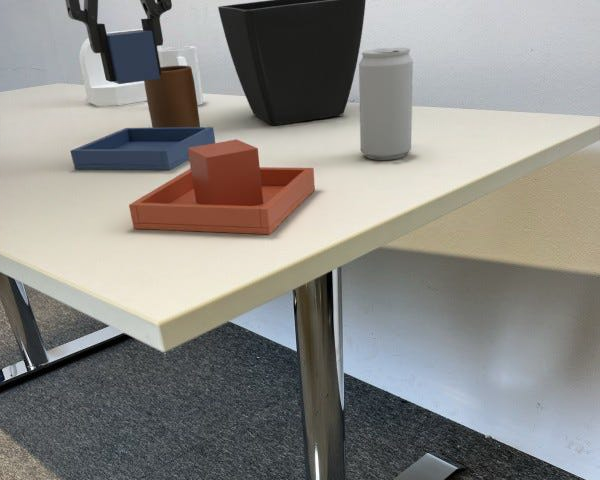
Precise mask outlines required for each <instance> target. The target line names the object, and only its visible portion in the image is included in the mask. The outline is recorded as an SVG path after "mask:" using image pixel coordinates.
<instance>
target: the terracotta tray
mask: <svg viewBox="0 0 600 480" xmlns="http://www.w3.org/2000/svg"><path fill="white" fill-rule="evenodd" d="M260 176H261V186H262V196H263V203H262V204H258V205H253V206H230V205H201V204H199V203H198V202H196V198H195V192H194V186H193V179H192V173H191V167H190V168H189V169H187V170H185V171H183V172H182V173H180V174H179V175H177V176H175V177H173V178H172V179H170V180H168V181H166V182H165V183H163V184H161V185H159V186H158V187H157V188H155V189H153V190H152V191H150V192H148V193H147V194H144V195H143V196H141V197H140V198H138V199H136V200H135V201H133V202H131V203H129V204H128V207H129V212H130V218H131V222H132V226H133V229H136V230H160V231H162V230H163V231H180V232H181V231H183V232H185V231H186V232H204V233H205V232H206V233H228V234H229V233H230V234H253V235H254V234H255V235H271V234H272V233H273V232H274V231H275V230H276V229H277V228H278V227H279V226H280V225H281V224H282V223H283V222H284V221H285V220H286V219H287V218H288V217H289V216H290V215H291V214H292V213H293V212H294V211H295V210H296V209H297V208H298V207H299V206H300V205H301V204H302V203H303V202H304V201H305V200H306V199H307V198H308V197H309V196H310V195H311V194H312V193H313V192H314V191H315V190H316V184H315V170H314V167H277V166H276V167H273V166H272V167H265V166H260Z"/></svg>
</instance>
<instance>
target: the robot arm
mask: <svg viewBox="0 0 600 480" xmlns="http://www.w3.org/2000/svg"><path fill="white" fill-rule="evenodd" d="M139 1H140V4H141V6H142V9H143V11H144V13H145V15H146V18H140V22H141V29H143V30H146V31H152V36H153V41H154V47H155V53H156V59H157V64H158V70H159V75H162V73H161V67H160V61H159V55H158V50H157V46H161V45H162V46H163V45H164V37H163V30H162V24H161V16H162V15H163V14H164V13H166V12H168V11H170V10H172V7H173V4H172V0H139ZM65 6H66V11H67V16H68V17H69V18H70V19H71V20H73V21H78V22H81V23H83V24H84V25H85V28H86V32H87V36H88V37H89V41H90V46H91V49H92V51H93V53H100V55H101V59H102V65H103V69H104V73H105V78H106V80H107V81H110V82H114V81H116V78H115V74H114V69H113V64H112V59H111V54H110V49H109V45H108V40H107V34H106V33H107V30H106V24H105V23H99V22H98V18H99V17H98V15H99V13H98V12H99V0H83V10H82V8H81V4H80V0H65ZM88 37H87V38H88Z"/></svg>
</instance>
